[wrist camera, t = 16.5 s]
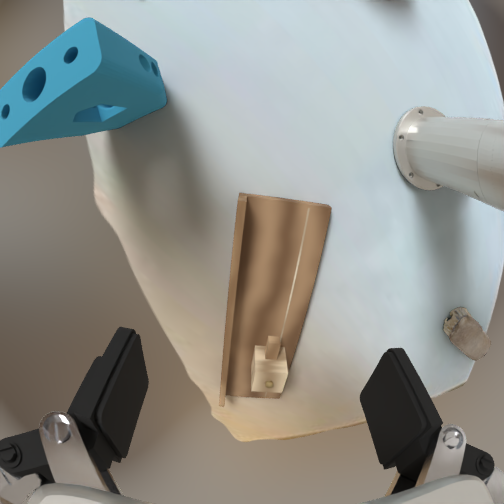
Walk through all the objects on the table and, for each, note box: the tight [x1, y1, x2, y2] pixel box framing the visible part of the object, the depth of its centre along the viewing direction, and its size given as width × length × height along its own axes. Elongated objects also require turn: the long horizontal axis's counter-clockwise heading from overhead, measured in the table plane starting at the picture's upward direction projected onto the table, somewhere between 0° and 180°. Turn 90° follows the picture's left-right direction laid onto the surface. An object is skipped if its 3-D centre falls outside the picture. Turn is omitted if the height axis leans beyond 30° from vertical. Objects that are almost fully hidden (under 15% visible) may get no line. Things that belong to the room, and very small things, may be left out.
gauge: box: [251, 336, 288, 393], centre depth 42 cm, size 5×12×7 cm, turn 173°
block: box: [0, 18, 167, 147], centre depth 20 cm, size 12×5×20 cm, turn 107°
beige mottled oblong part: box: [443, 307, 491, 361], centre depth 45 cm, size 24×7×5 cm, turn 57°
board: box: [219, 193, 332, 407], centre depth 41 cm, size 12×39×4 cm, turn 173°
